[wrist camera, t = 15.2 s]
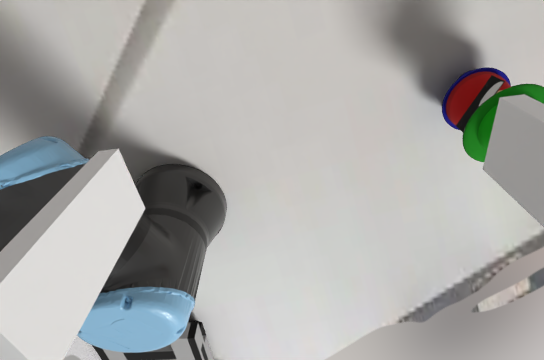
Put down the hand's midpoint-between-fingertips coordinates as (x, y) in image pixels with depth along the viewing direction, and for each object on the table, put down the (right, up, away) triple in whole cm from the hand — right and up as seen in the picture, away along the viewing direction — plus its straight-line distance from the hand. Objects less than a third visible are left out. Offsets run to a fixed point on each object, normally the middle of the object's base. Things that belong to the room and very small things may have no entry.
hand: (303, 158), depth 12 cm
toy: (+23, +11, +32) cm, 41 cm away
